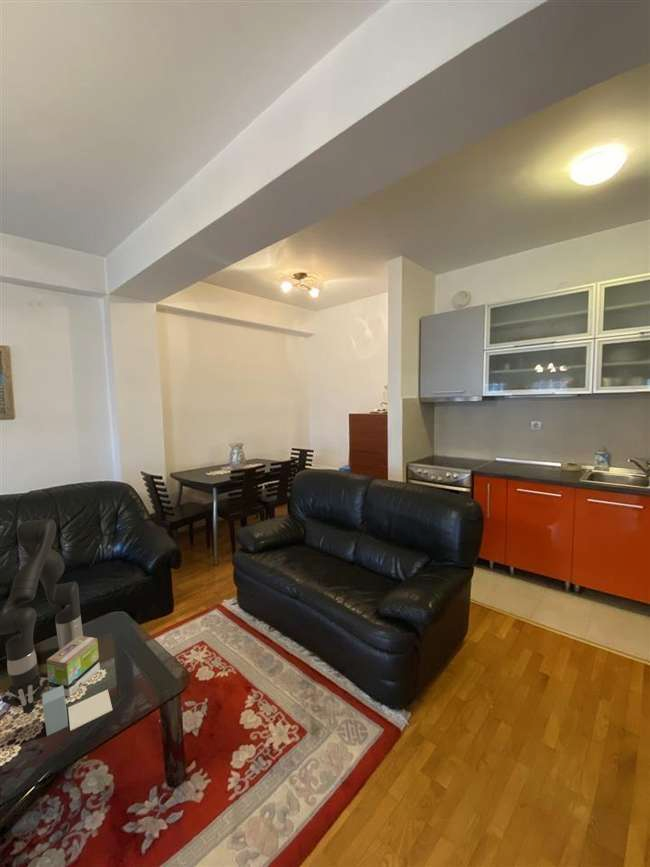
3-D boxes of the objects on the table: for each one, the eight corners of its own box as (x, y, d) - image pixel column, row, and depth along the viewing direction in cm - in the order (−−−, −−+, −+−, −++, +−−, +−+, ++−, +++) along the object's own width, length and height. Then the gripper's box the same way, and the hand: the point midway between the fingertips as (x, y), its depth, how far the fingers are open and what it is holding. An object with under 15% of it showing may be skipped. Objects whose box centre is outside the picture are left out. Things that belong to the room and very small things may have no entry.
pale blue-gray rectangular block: (46, 724, 131) (42, 693, 129) (67, 714, 134) (63, 685, 133) (46, 736, 126) (42, 704, 125) (68, 726, 130) (64, 695, 128)
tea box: (70, 697, 142) (66, 663, 140) (49, 694, 144) (44, 660, 142) (101, 668, 157) (97, 637, 155) (81, 666, 159) (77, 634, 157)
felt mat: (68, 708, 137) (68, 707, 137) (107, 690, 145) (107, 689, 145) (70, 731, 128) (70, 730, 128) (112, 710, 136) (112, 709, 136)
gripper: (47, 650, 130) (53, 694, 132) (-3, 668, 122) (4, 715, 124) (47, 662, 124) (53, 708, 126) (-5, 682, 116) (2, 731, 118)
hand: (29, 711), depth 125 cm, fingers closed
